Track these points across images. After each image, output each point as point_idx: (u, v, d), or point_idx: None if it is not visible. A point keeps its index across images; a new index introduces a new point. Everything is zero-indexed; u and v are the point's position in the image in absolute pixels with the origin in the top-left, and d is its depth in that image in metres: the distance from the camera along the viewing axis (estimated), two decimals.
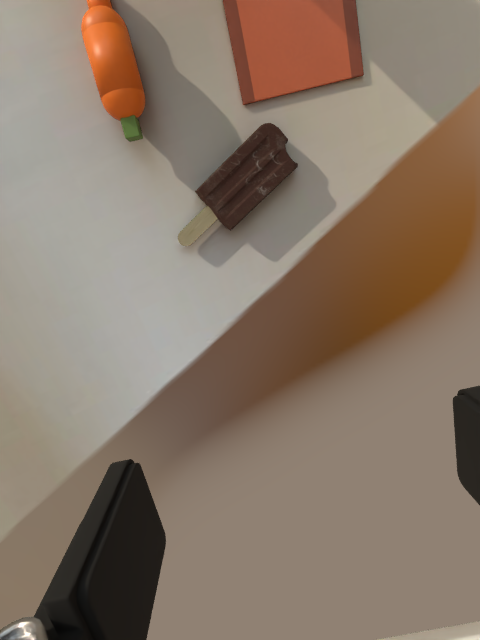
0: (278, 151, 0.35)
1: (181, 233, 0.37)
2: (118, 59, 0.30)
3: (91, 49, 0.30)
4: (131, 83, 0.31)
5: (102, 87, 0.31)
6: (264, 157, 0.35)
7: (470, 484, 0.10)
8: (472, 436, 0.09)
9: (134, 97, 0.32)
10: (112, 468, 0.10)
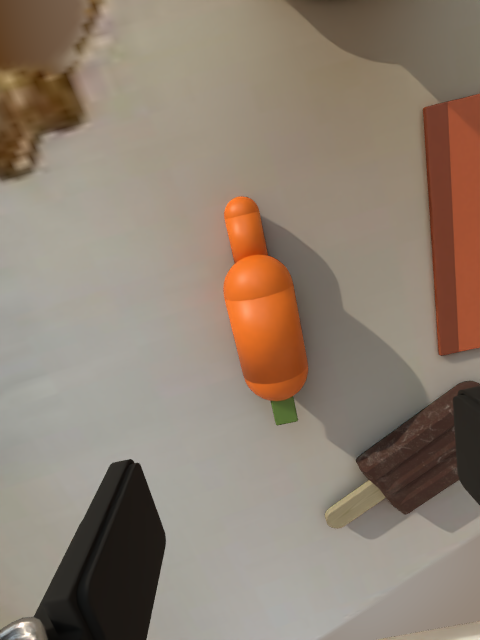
0: None
1: (332, 514, 0.26)
2: (286, 341, 0.19)
3: (243, 326, 0.19)
4: (300, 366, 0.20)
5: (254, 374, 0.20)
6: None
7: (470, 484, 0.10)
8: (472, 436, 0.09)
9: (301, 383, 0.20)
10: (112, 468, 0.10)
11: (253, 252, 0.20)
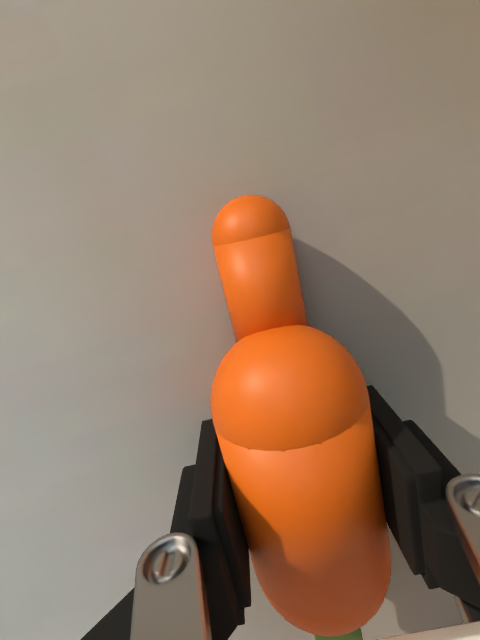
0: None
1: None
2: (357, 535, 0.08)
3: (256, 500, 0.08)
4: (381, 571, 0.09)
5: (280, 593, 0.09)
6: None
7: None
8: None
9: (381, 603, 0.09)
10: (205, 424, 0.11)
11: (278, 322, 0.09)
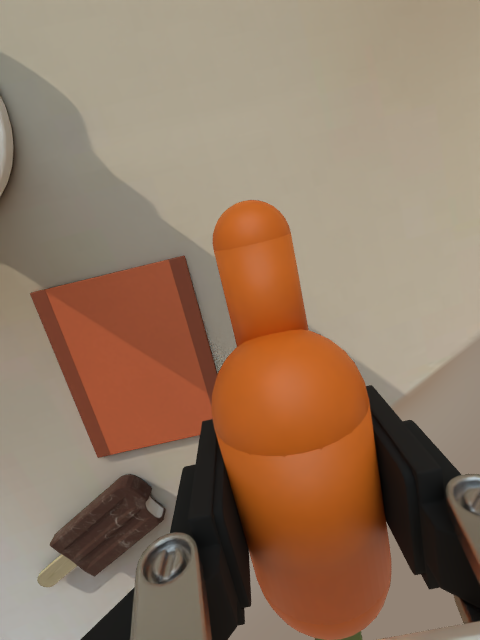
0: (138, 510, 0.31)
1: (40, 576, 0.33)
2: (357, 539, 0.08)
3: (257, 505, 0.08)
4: (381, 575, 0.09)
5: (280, 597, 0.09)
6: (123, 515, 0.31)
7: None
8: None
9: (381, 607, 0.09)
10: (205, 424, 0.11)
11: (278, 327, 0.09)
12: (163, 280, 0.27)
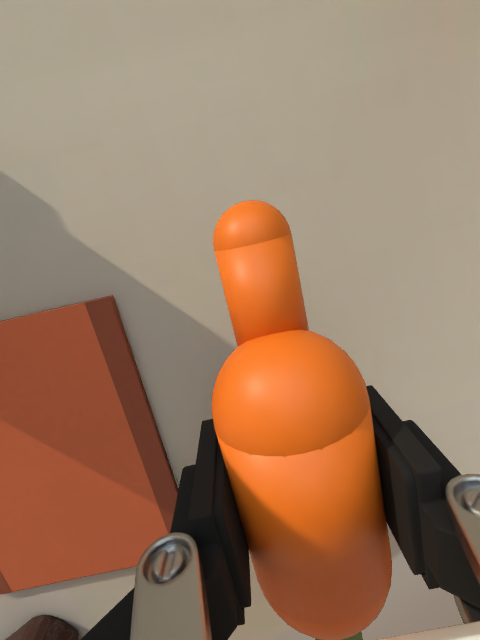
0: None
1: None
2: (358, 540, 0.08)
3: (258, 505, 0.08)
4: (382, 575, 0.09)
5: (281, 597, 0.09)
6: None
7: None
8: None
9: (381, 607, 0.09)
10: (205, 424, 0.11)
11: (279, 327, 0.09)
12: (77, 336, 0.16)
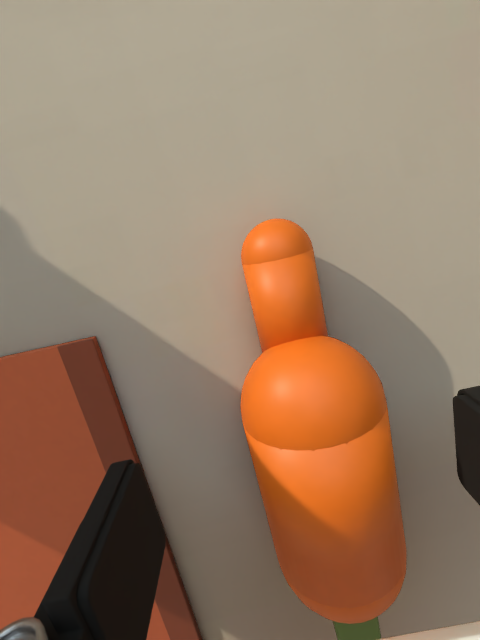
0: None
1: None
2: (378, 527, 0.09)
3: (286, 496, 0.09)
4: (398, 562, 0.10)
5: (306, 583, 0.10)
6: None
7: (470, 484, 0.10)
8: (472, 436, 0.09)
9: (398, 592, 0.10)
10: (112, 468, 0.10)
11: (303, 333, 0.09)
12: (48, 390, 0.12)
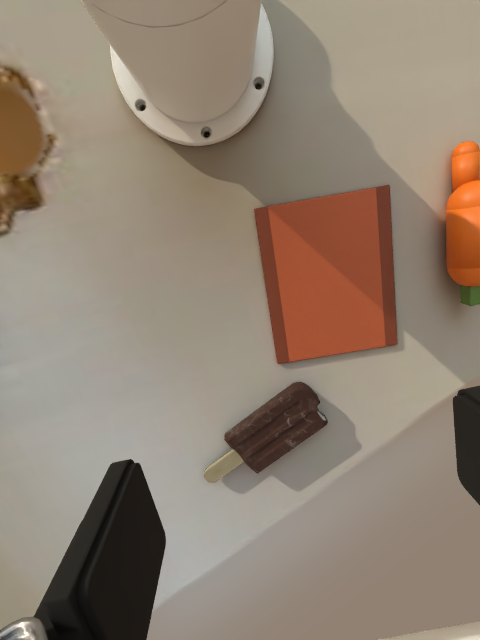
0: (309, 412, 0.35)
1: (208, 471, 0.38)
2: None
3: (471, 226, 0.29)
4: None
5: (471, 262, 0.30)
6: (295, 416, 0.35)
7: (469, 484, 0.10)
8: (472, 436, 0.09)
9: None
10: (112, 468, 0.10)
11: (475, 178, 0.29)
12: (367, 205, 0.31)
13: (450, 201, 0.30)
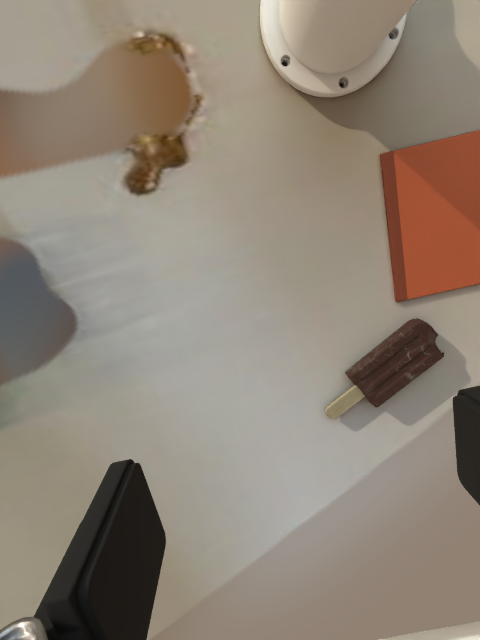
0: (428, 345, 0.38)
1: (330, 408, 0.41)
2: None
3: None
4: None
5: None
6: (415, 349, 0.38)
7: (469, 484, 0.10)
8: (472, 436, 0.09)
9: None
10: (112, 468, 0.10)
11: None
12: None
13: None
